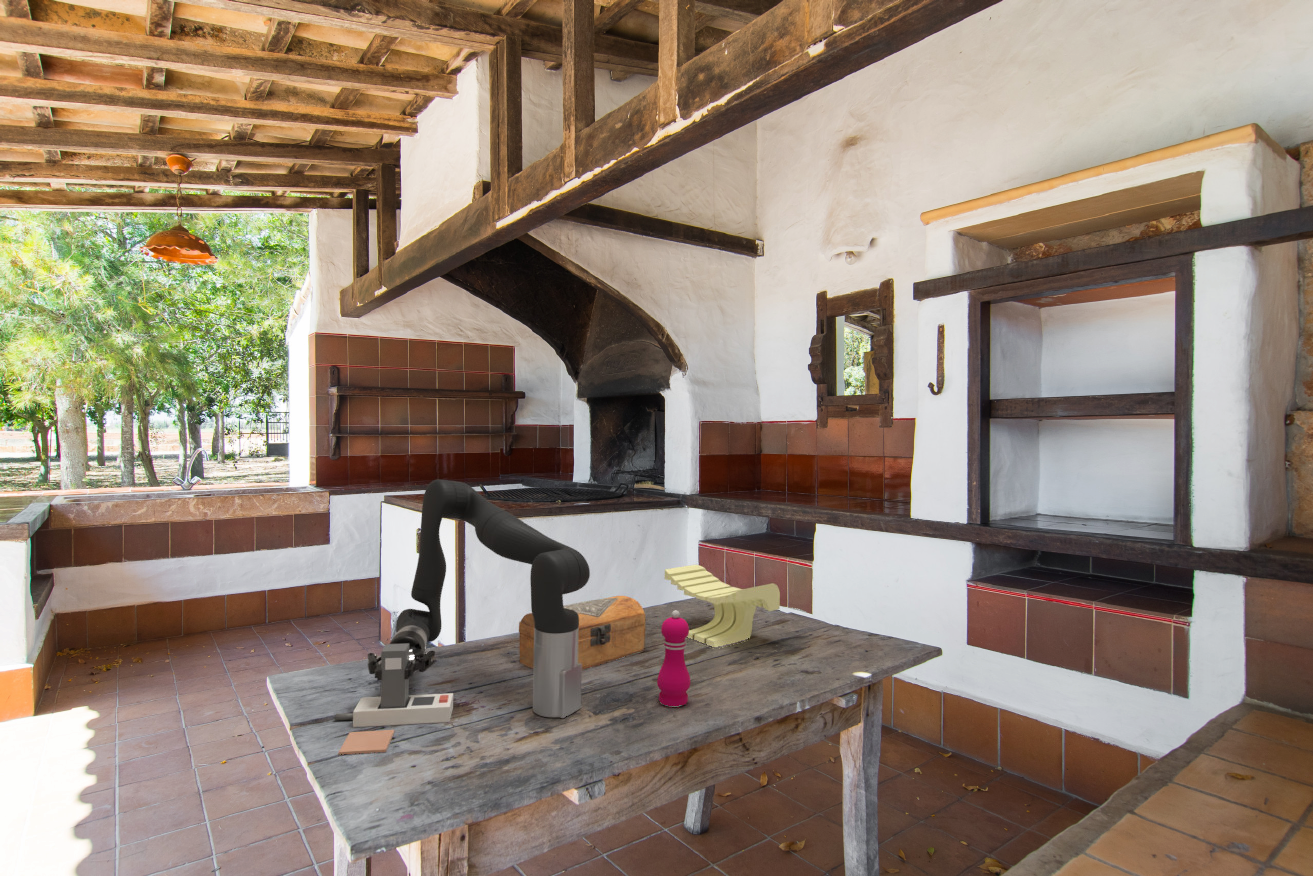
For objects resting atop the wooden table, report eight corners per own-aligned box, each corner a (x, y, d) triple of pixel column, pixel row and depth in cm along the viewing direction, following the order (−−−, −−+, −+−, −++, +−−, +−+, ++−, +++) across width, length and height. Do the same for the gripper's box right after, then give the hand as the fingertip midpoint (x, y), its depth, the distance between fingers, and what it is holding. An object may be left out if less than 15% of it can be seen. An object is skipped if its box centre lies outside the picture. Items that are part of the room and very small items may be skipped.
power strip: (453, 707, 143) (453, 690, 143) (449, 722, 136) (449, 704, 136) (340, 713, 139) (340, 695, 139) (330, 728, 132) (331, 709, 132)
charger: (408, 701, 140) (409, 643, 140) (404, 711, 136) (405, 650, 135) (385, 702, 139) (386, 644, 139) (380, 712, 135) (381, 651, 135)
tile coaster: (394, 732, 131) (394, 729, 131) (386, 752, 123) (386, 749, 123) (349, 734, 130) (349, 732, 130) (338, 755, 122) (338, 752, 122)
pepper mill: (666, 711, 144) (668, 616, 144) (650, 698, 150) (653, 608, 150) (696, 705, 147) (698, 613, 147) (679, 693, 154) (681, 604, 153)
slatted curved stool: (778, 646, 189) (780, 581, 189) (739, 657, 178) (740, 589, 178) (702, 620, 212) (703, 563, 211) (663, 629, 201) (664, 569, 201)
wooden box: (554, 681, 160) (556, 622, 159) (516, 662, 172) (517, 607, 171) (649, 654, 180) (650, 601, 180) (609, 639, 192) (610, 589, 192)
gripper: (373, 631, 150) (354, 657, 133) (441, 629, 153) (431, 654, 136) (373, 665, 150) (353, 696, 133) (440, 662, 153) (430, 692, 136)
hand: (392, 675), depth 135 cm, fingers closed on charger, 4 cm apart
